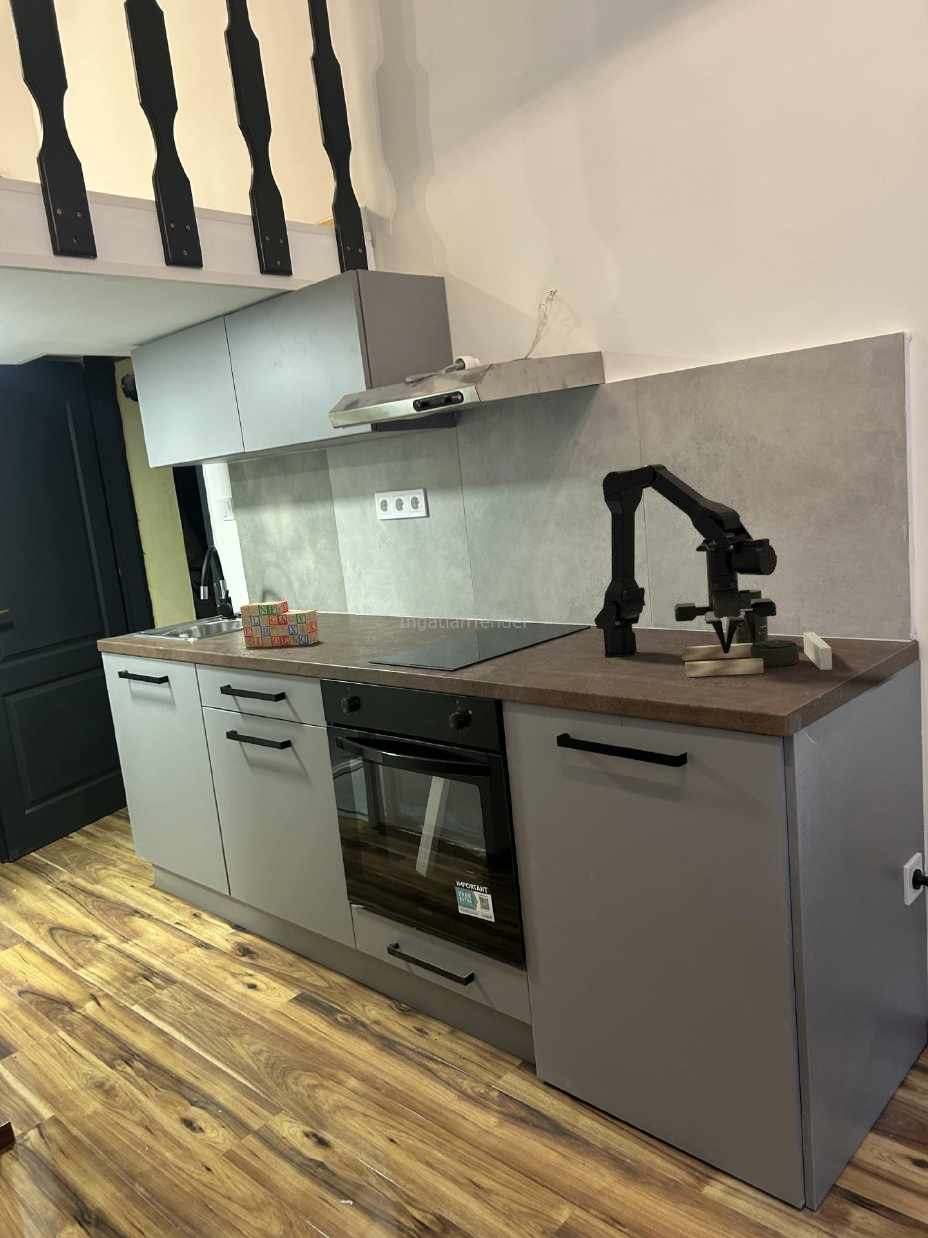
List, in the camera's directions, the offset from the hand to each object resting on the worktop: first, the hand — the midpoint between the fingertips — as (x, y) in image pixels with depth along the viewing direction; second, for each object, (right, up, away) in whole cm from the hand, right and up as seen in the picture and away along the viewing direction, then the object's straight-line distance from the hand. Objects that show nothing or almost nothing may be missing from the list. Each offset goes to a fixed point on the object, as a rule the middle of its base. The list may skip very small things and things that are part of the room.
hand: (726, 653), depth 178 cm
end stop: (+17, -1, -3) cm, 17 cm away
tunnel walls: (-1, -2, 0) cm, 3 cm away
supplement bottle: (+10, +1, +16) cm, 19 cm away
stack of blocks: (-104, -1, +85) cm, 134 cm away
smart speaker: (+9, -2, -2) cm, 9 cm away
